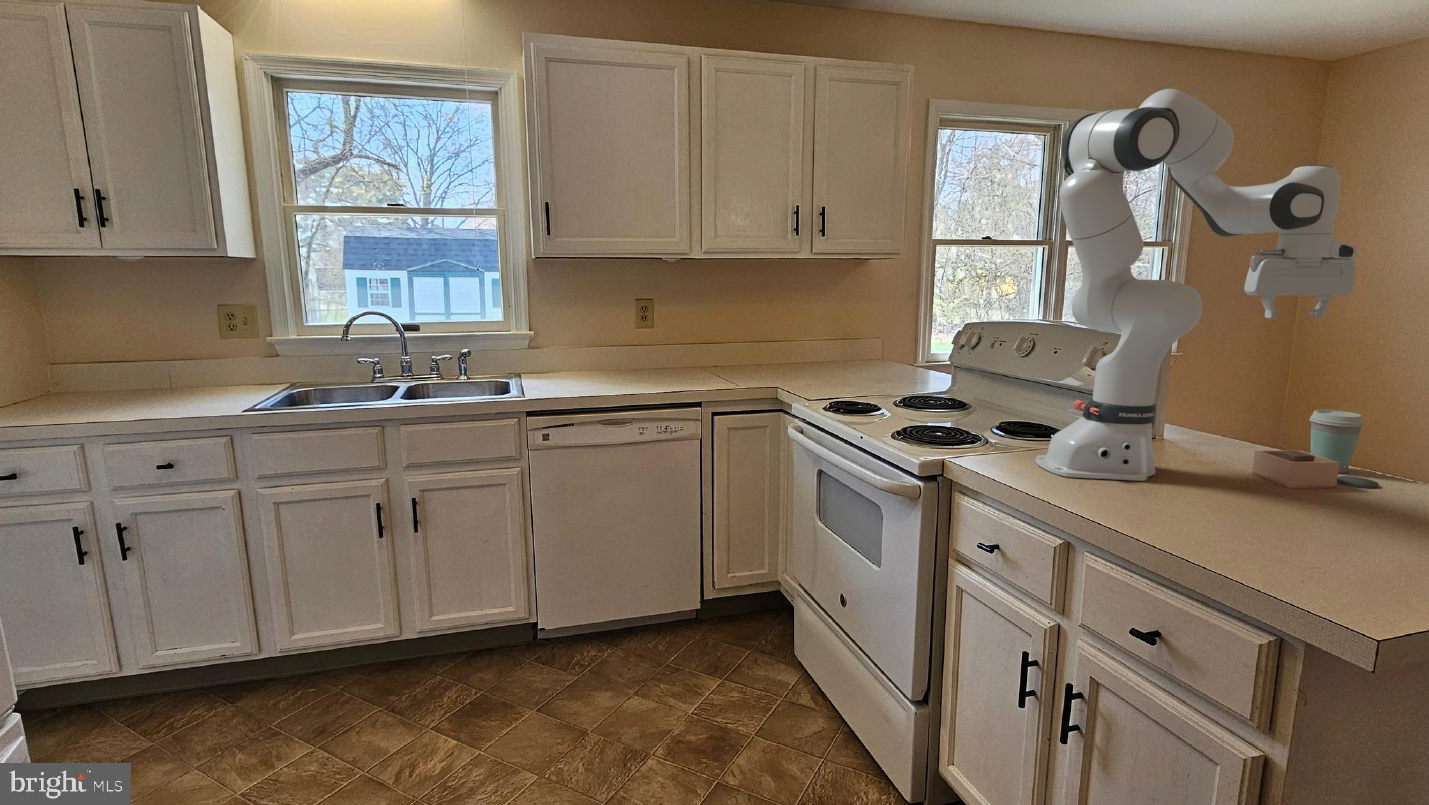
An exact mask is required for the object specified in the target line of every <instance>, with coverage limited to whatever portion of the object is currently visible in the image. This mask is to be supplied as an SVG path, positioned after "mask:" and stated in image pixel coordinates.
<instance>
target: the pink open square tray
mask: <svg viewBox="0 0 1429 805" xmlns="http://www.w3.org/2000/svg"><path fill="white" fill-rule="evenodd" d="M1278 451H1301V452H1304V453H1307V454H1310V455H1314V454H1311V452H1308V451H1307V452H1306V451H1304V450H1301V449H1300V450H1299V449H1298V450H1297V449H1296V450H1294V449H1293V450H1289V449H1288V450H1286V449H1283V450H1279V449H1278V450H1276V449H1275V450H1274V449H1273V450H1269V449H1268V450H1267V449H1266V450H1261V449H1260V450H1258V449H1257V450H1254V456H1253V464H1252V470H1251V475H1252V476H1255V477H1259V478H1261V479H1263V480H1266V481H1269V482H1272V483H1274V484H1276V485H1279V486H1282V487H1285V488H1287V489H1311V488H1312V489H1331V488H1332V489H1335V488H1336V487H1337V483H1338V482H1337V477H1339V473H1338V471H1339V465H1340V462H1337V461H1333V460H1330V459H1327V458H1324V457H1320V456H1317V455H1314V456H1315V458H1314V462H1292V461H1289V460H1286V459H1283V458H1280V457H1277V455H1278Z"/></svg>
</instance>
